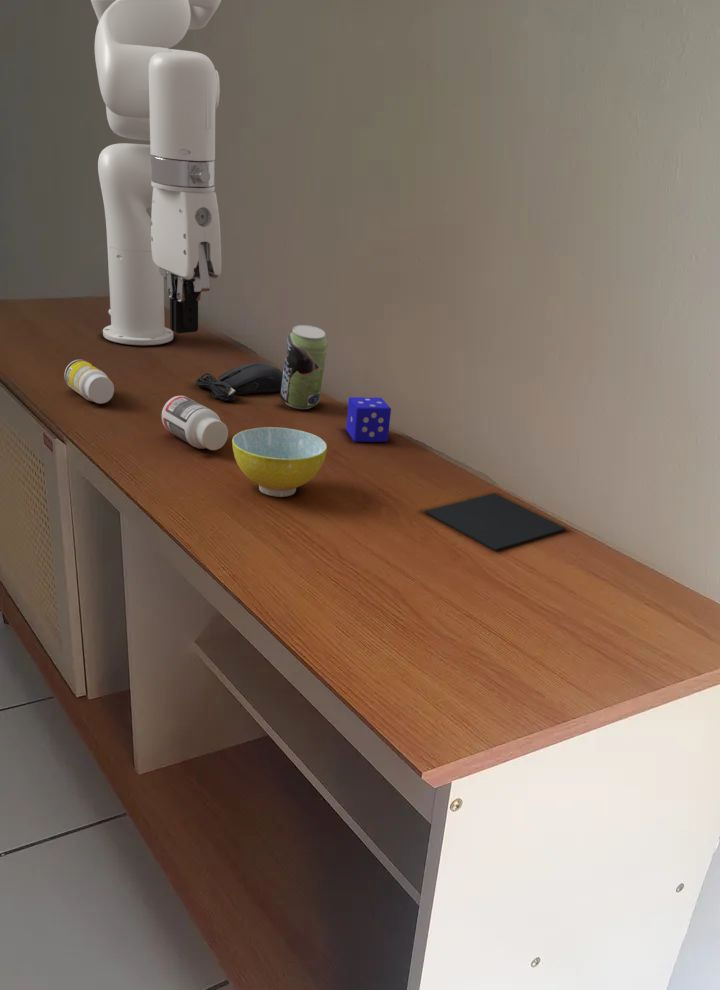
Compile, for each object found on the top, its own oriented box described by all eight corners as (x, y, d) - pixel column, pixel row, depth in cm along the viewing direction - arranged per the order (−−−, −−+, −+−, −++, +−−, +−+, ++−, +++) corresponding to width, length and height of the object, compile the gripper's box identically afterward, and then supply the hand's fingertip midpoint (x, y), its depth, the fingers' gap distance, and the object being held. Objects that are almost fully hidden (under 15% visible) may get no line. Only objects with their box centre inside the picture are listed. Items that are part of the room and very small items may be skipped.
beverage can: (301, 397, 149) (305, 319, 143) (332, 410, 145) (338, 330, 139) (270, 403, 145) (273, 323, 139) (302, 416, 141) (306, 335, 135)
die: (346, 430, 137) (348, 396, 135) (378, 430, 139) (382, 397, 136) (354, 442, 133) (357, 407, 131) (387, 442, 134) (391, 408, 132)
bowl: (304, 469, 122) (307, 423, 119) (337, 504, 113) (341, 455, 110) (220, 476, 118) (220, 428, 115) (247, 512, 109) (248, 461, 106)
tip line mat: (425, 512, 114) (425, 510, 113) (494, 495, 120) (494, 493, 120) (495, 551, 106) (496, 549, 106) (565, 530, 113) (565, 528, 112)
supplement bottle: (99, 379, 144) (122, 395, 138) (73, 396, 143) (96, 413, 137) (84, 352, 140) (107, 367, 135) (57, 369, 139) (79, 385, 134)
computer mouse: (302, 394, 151) (304, 370, 149) (222, 404, 143) (223, 379, 141) (269, 377, 158) (270, 354, 156) (191, 385, 150) (191, 361, 148)
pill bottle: (192, 433, 132) (230, 455, 125) (158, 433, 128) (195, 456, 122) (197, 394, 129) (235, 415, 123) (162, 394, 126) (200, 415, 120)
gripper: (243, 184, 109) (239, 343, 119) (179, 166, 119) (181, 314, 129) (186, 184, 105) (187, 349, 115) (125, 165, 115) (131, 319, 124)
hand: (184, 330), depth 122 cm, fingers closed
